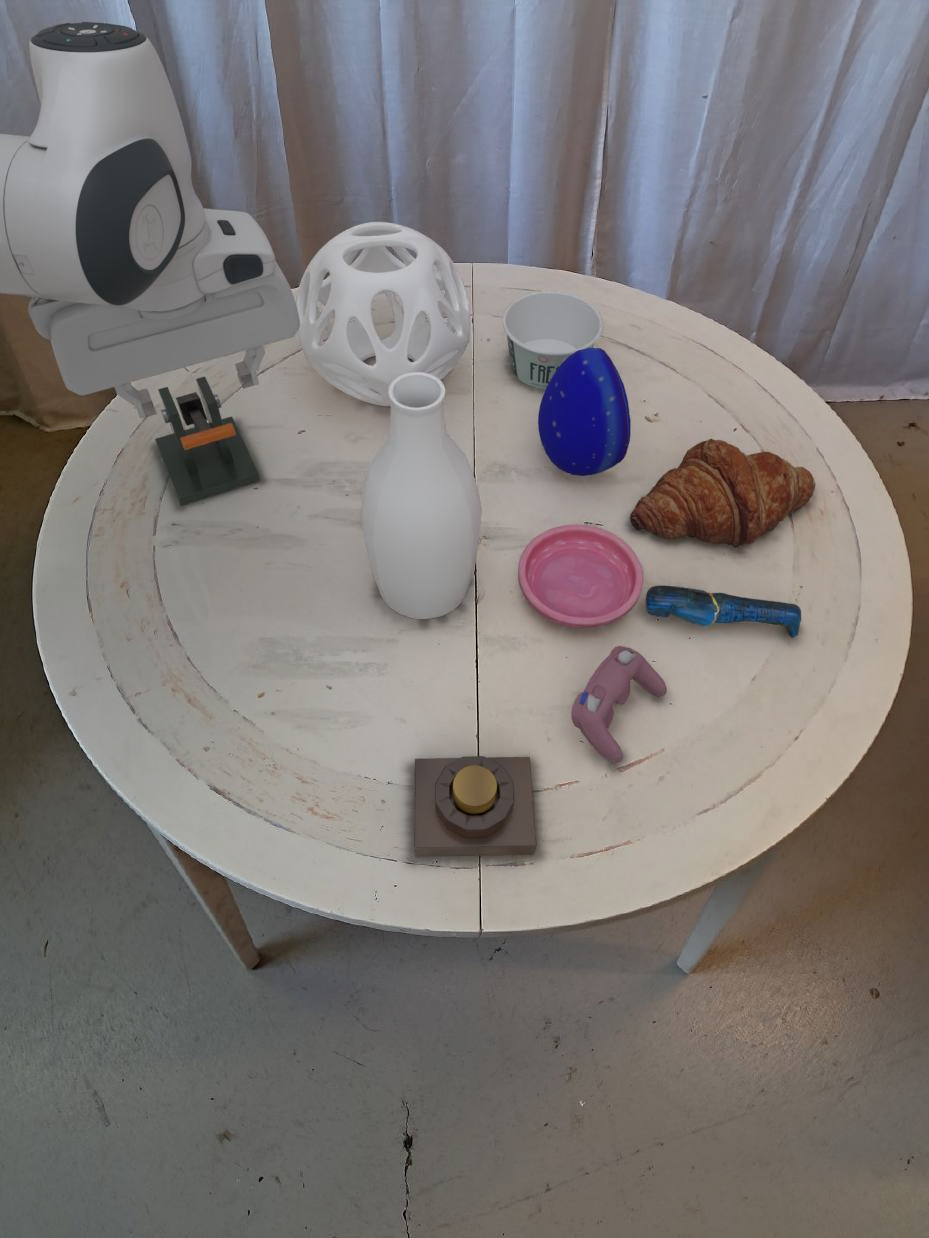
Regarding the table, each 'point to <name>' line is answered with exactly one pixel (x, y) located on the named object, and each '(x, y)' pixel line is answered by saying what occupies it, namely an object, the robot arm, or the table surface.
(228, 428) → the switch lever
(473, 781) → the button
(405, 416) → the bottle
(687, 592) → the figurine
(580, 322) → the food container
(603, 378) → the ornament
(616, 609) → the saucer
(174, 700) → the table surface
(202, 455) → the switch bracket
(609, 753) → the video game controller
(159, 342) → the robot arm
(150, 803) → the table surface
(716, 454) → the pastry
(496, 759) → the button block
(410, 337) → the decorative ball
